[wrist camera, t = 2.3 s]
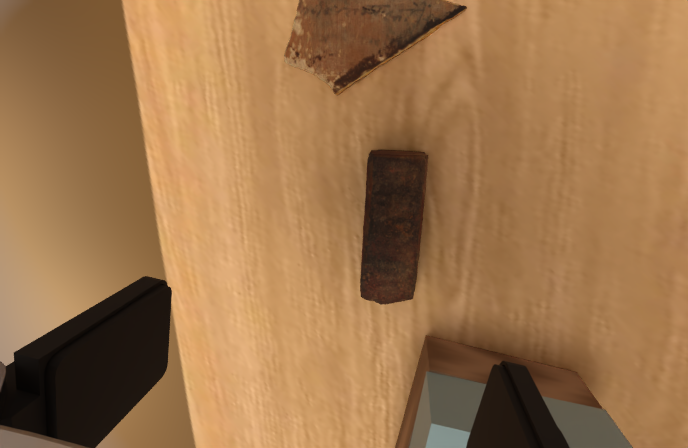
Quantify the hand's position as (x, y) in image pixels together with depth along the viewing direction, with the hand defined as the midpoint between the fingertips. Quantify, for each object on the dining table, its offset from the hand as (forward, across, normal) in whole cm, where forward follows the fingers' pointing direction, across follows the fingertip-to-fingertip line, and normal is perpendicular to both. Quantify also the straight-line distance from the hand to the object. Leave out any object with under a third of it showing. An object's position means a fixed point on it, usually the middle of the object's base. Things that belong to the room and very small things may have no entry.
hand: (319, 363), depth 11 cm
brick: (+20, -2, 0) cm, 20 cm away
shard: (+20, +4, -14) cm, 25 cm away
